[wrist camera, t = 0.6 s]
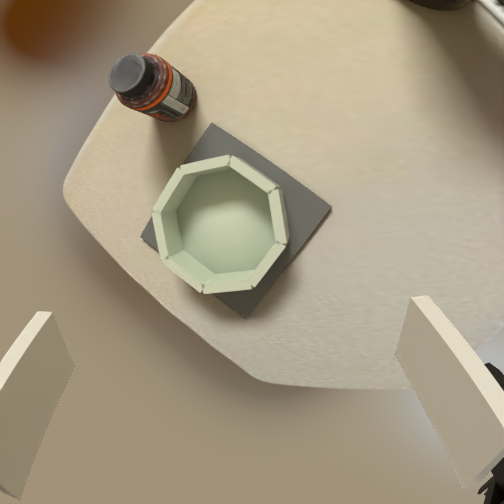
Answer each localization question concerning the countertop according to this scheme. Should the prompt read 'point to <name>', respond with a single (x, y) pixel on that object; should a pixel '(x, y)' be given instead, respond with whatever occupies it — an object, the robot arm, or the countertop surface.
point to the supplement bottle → (152, 87)
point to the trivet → (296, 202)
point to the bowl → (220, 224)
